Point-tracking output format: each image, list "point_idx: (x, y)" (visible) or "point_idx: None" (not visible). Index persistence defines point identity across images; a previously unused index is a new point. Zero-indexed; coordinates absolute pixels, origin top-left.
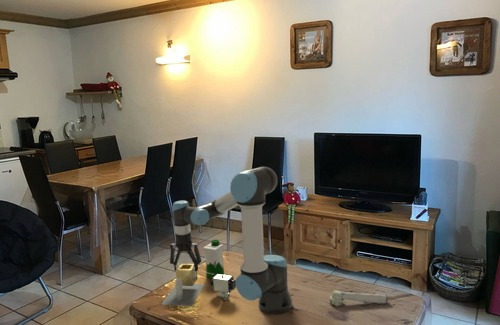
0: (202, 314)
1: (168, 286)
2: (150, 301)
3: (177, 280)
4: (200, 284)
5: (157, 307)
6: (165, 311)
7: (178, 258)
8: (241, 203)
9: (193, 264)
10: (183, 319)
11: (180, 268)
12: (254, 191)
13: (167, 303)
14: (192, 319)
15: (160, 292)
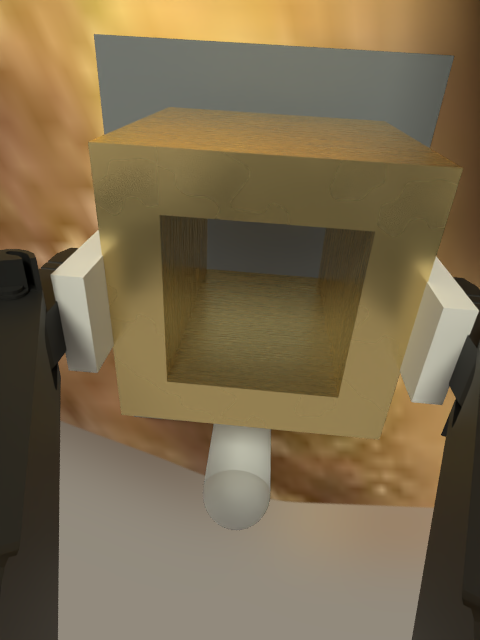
0: (420, 466)
1: (12, 54)
2: None
3: (232, 529)
4: (392, 73)
5: (115, 398)
6: (186, 435)
7: (47, 411)
8: None
9: (395, 208)
10: (316, 496)
11: (168, 340)
12: None
13: None
14: (365, 498)
15: (10, 194)
